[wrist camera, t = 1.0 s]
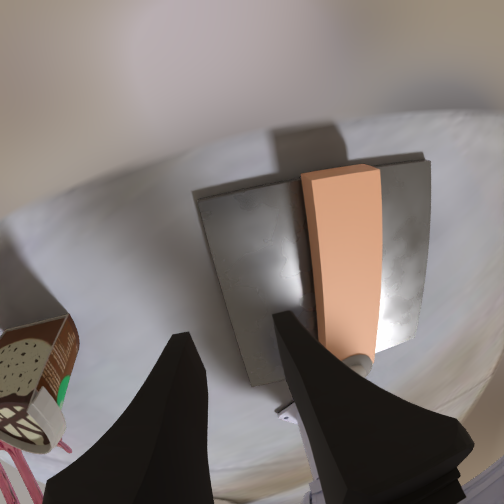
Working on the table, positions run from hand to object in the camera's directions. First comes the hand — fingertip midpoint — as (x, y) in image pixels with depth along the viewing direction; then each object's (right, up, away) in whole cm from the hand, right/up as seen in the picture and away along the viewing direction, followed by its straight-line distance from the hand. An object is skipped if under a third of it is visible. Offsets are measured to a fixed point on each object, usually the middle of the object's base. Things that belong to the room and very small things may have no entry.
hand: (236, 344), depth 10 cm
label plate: (+7, +1, +11) cm, 13 cm away
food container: (-18, -5, +11) cm, 21 cm away
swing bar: (+7, +1, +10) cm, 12 cm away
